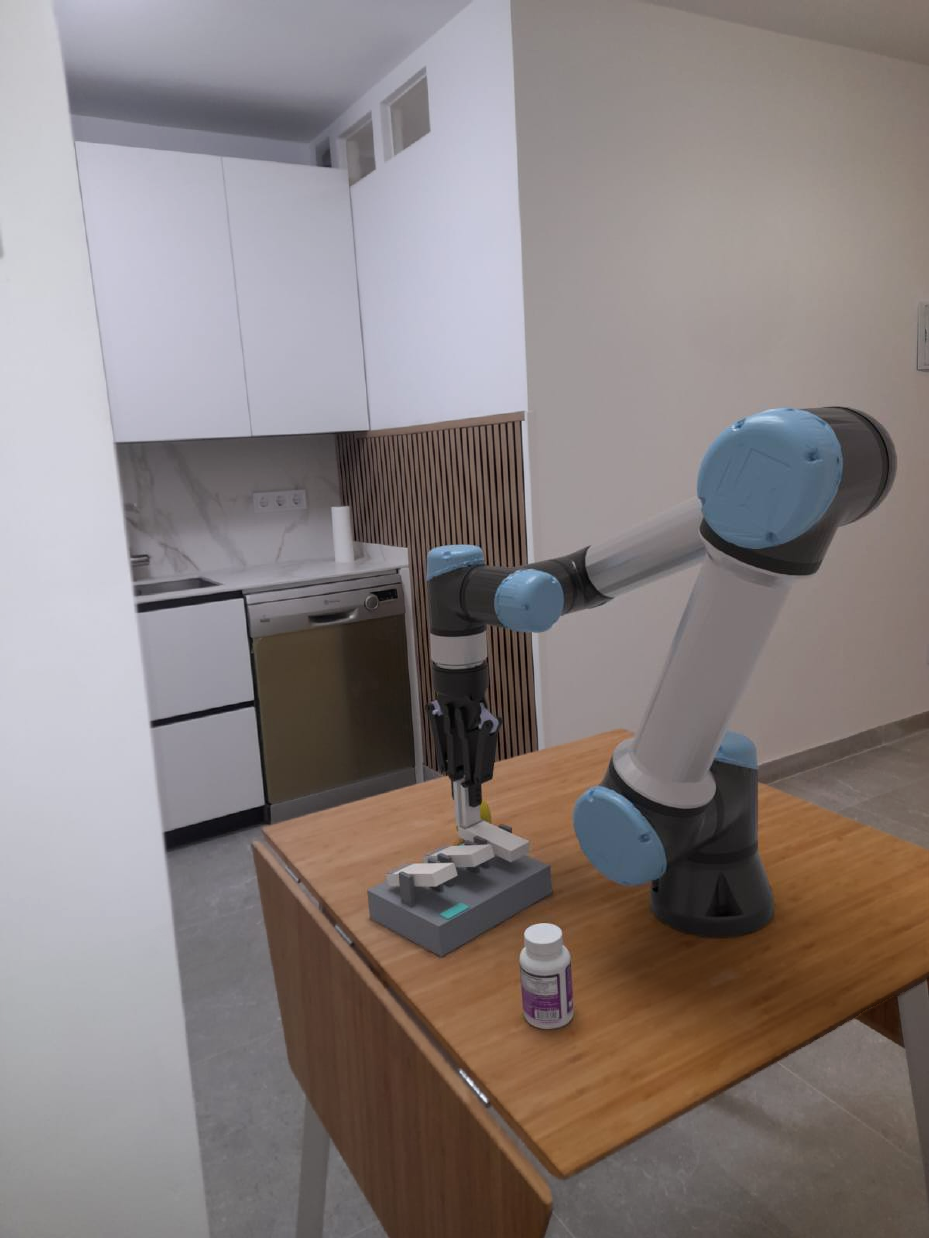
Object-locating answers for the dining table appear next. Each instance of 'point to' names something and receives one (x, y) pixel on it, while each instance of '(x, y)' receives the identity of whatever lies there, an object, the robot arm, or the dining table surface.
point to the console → (460, 900)
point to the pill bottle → (546, 977)
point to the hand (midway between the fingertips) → (468, 824)
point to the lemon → (484, 812)
